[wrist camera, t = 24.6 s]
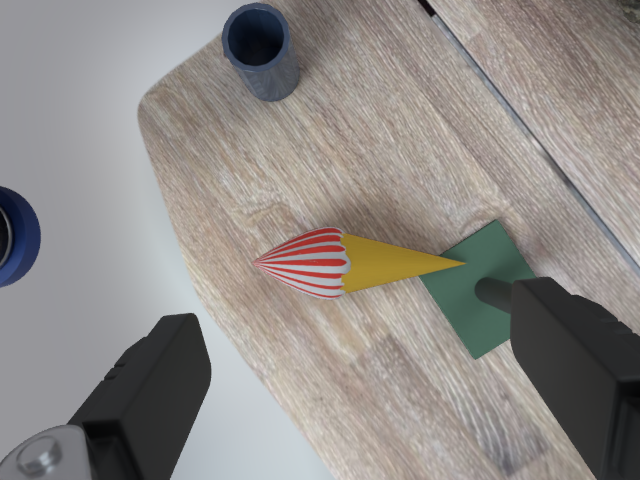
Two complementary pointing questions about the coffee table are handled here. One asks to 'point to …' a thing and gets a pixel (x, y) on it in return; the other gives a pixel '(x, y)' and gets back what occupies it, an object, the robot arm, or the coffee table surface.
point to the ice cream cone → (343, 263)
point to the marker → (494, 293)
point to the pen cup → (262, 51)
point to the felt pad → (459, 286)
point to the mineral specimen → (631, 9)
